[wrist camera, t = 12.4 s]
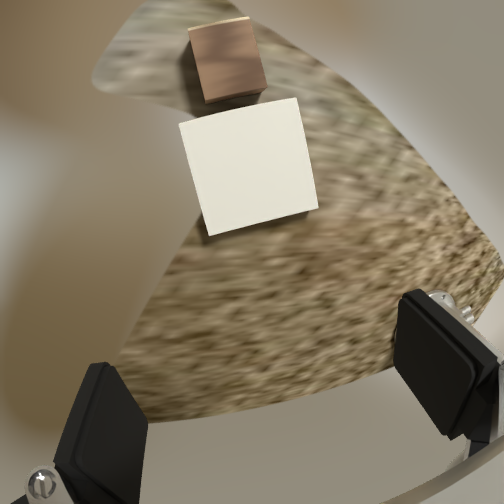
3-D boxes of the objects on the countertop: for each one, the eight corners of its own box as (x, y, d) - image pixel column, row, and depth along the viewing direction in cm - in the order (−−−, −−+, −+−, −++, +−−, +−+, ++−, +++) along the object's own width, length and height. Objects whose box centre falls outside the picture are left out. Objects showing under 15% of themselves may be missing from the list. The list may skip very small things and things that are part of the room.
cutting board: (291, 99, 30) (296, 97, 28) (312, 204, 34) (318, 207, 32) (180, 124, 29) (178, 123, 27) (209, 230, 34) (209, 236, 32)
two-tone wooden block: (261, 92, 29) (244, 28, 26) (267, 87, 26) (248, 16, 23) (205, 104, 29) (189, 39, 26) (205, 100, 26) (187, 28, 23)
